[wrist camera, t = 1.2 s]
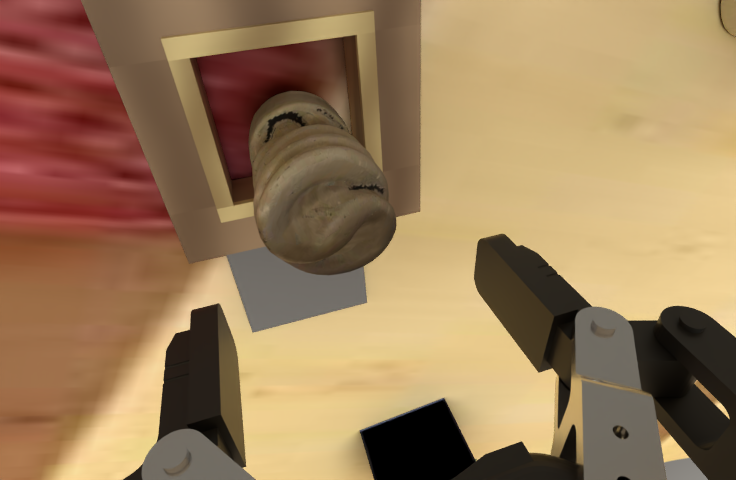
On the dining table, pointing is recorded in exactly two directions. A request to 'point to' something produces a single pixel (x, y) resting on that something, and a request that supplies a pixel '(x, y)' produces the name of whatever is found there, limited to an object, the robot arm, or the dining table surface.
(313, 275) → the mat
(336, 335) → the dining table surface
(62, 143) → the dining table surface
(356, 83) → the socket block
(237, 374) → the robot arm
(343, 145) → the tan ridged rounded piece
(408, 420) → the vase
